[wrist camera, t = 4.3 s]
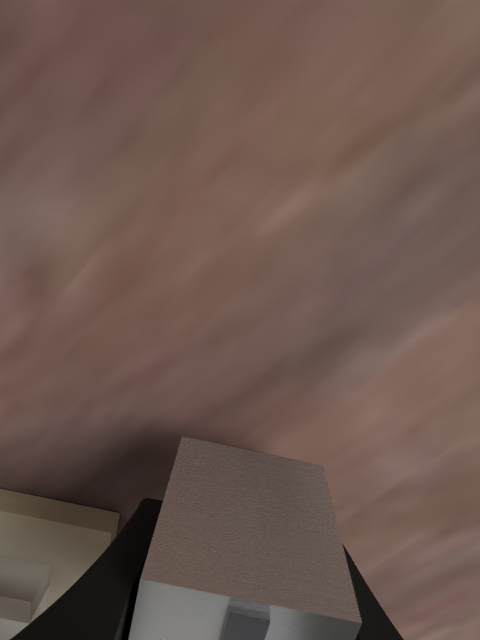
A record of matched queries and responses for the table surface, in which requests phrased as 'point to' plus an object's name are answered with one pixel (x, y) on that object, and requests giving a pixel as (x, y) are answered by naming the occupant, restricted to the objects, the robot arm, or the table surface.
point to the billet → (245, 553)
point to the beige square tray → (45, 553)
